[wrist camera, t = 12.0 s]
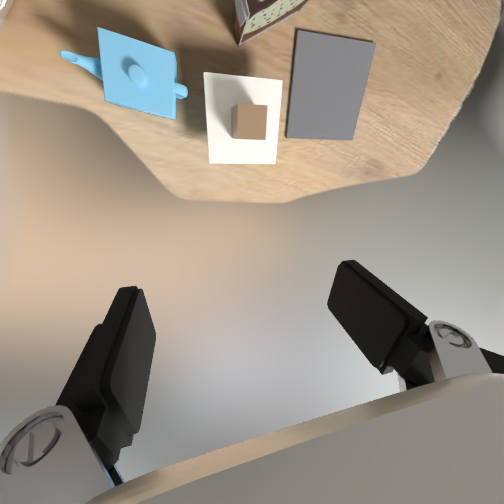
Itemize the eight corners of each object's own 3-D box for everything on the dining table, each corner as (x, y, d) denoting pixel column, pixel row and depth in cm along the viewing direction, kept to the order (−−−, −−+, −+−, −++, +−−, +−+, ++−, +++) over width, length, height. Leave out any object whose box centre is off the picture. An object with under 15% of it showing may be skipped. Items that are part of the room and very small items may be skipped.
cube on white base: (203, 73, 25) (205, 60, 20) (280, 81, 27) (297, 71, 23) (209, 162, 30) (211, 168, 25) (273, 163, 32) (286, 168, 28)
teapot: (92, 99, 27) (61, 89, 21) (84, 38, 24) (46, 4, 18) (187, 122, 31) (185, 120, 24) (189, 71, 28) (188, 53, 22)
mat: (285, 137, 35) (286, 137, 35) (296, 31, 28) (298, 30, 28) (350, 140, 38) (352, 140, 38) (373, 44, 31) (376, 43, 31)
